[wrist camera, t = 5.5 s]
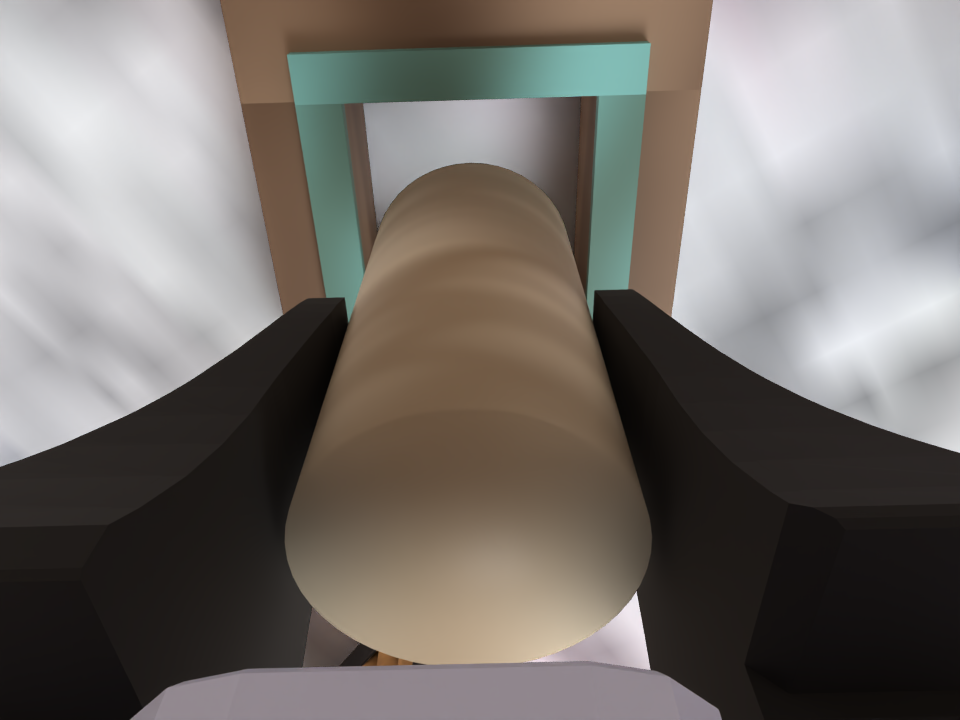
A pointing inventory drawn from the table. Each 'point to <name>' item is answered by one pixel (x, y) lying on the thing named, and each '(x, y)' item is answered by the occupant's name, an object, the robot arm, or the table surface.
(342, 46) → the rail
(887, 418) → the table surface
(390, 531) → the peg
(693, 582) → the robot arm
